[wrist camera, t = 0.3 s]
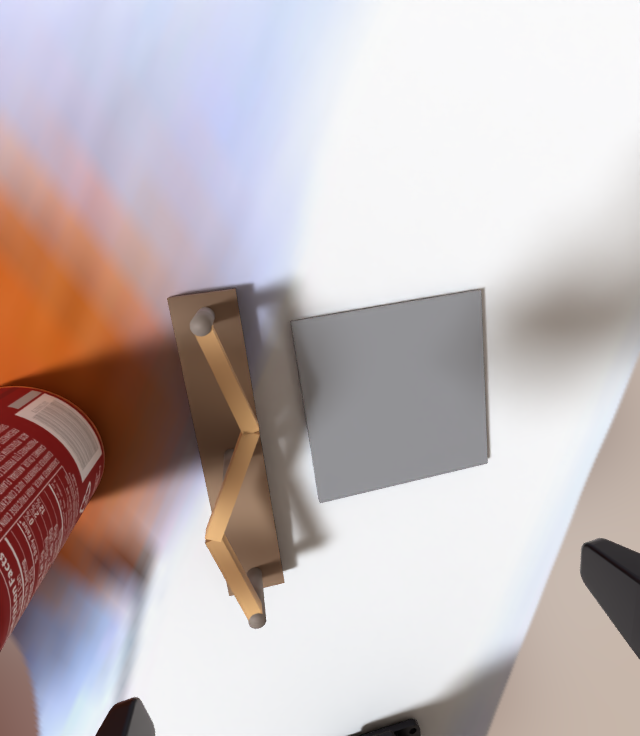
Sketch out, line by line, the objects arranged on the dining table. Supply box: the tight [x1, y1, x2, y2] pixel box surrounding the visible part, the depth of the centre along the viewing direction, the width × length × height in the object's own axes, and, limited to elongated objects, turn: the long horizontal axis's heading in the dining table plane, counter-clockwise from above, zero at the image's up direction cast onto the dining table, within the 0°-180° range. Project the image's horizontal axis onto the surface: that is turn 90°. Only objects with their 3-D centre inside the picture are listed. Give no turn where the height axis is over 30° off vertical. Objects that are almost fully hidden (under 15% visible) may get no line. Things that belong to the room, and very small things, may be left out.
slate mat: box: [291, 290, 488, 503], centre depth 23 cm, size 10×10×1 cm
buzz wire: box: [167, 288, 284, 629], centre depth 20 cm, size 16×3×4 cm, turn 7°
